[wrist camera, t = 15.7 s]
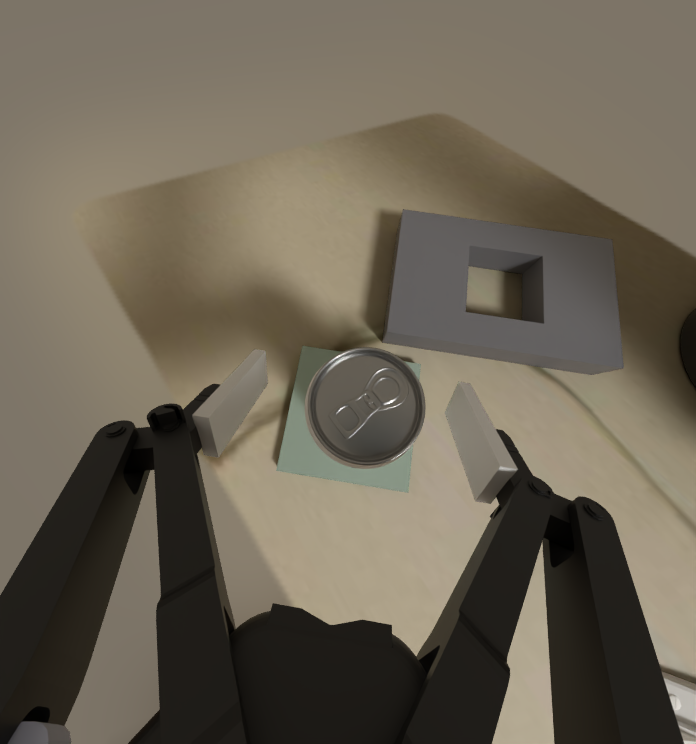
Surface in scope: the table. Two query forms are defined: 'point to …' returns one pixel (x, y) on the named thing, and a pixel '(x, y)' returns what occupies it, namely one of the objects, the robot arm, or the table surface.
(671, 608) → the table surface
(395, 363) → the can
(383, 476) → the mat
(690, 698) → the light switch
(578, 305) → the block
